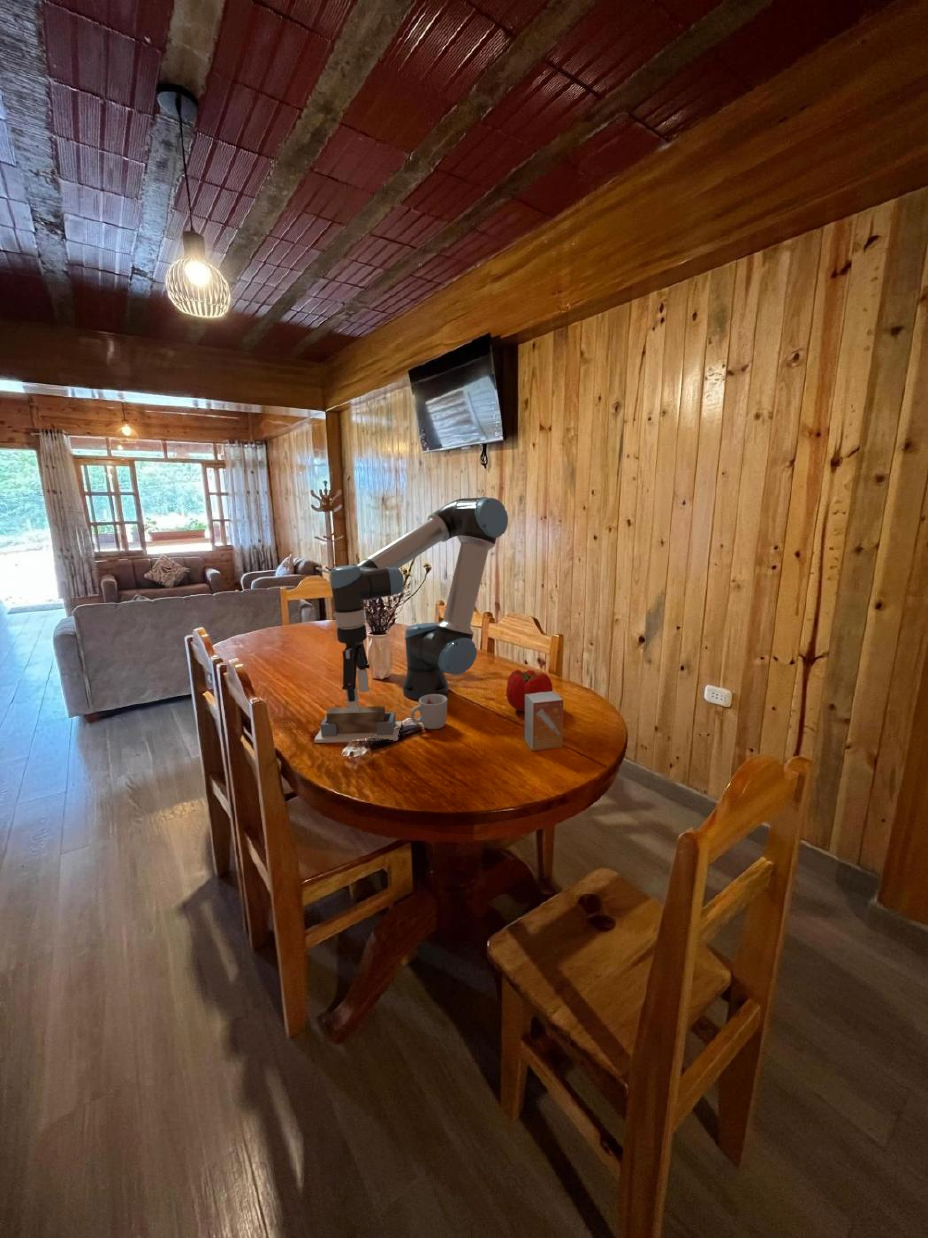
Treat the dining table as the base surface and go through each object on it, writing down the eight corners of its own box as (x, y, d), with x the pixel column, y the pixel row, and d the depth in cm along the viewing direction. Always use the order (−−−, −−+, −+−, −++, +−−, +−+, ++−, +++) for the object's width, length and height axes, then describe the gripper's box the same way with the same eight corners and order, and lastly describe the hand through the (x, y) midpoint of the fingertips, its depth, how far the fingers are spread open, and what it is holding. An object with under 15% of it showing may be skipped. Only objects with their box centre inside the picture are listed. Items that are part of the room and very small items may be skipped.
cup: (417, 737, 135) (415, 709, 133) (406, 726, 141) (405, 699, 140) (453, 727, 139) (452, 701, 138) (441, 717, 146) (440, 691, 144)
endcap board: (402, 724, 142) (401, 709, 141) (397, 740, 133) (396, 725, 132) (324, 726, 143) (323, 711, 142) (314, 742, 133) (313, 727, 132)
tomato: (560, 706, 152) (560, 669, 149) (532, 722, 141) (532, 683, 139) (524, 696, 160) (524, 661, 158) (496, 710, 150) (495, 673, 148)
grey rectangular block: (386, 726, 139) (384, 706, 138) (383, 732, 135) (382, 712, 134) (332, 727, 139) (330, 707, 138) (328, 734, 135) (326, 713, 134)
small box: (532, 752, 125) (533, 703, 122) (524, 740, 131) (524, 693, 128) (563, 747, 126) (564, 699, 123) (553, 736, 132) (553, 690, 130)
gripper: (347, 615, 143) (355, 684, 148) (323, 639, 119) (334, 722, 124) (373, 613, 143) (380, 683, 148) (355, 638, 119) (364, 720, 124)
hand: (359, 701), depth 136 cm, fingers open, 13 cm apart
